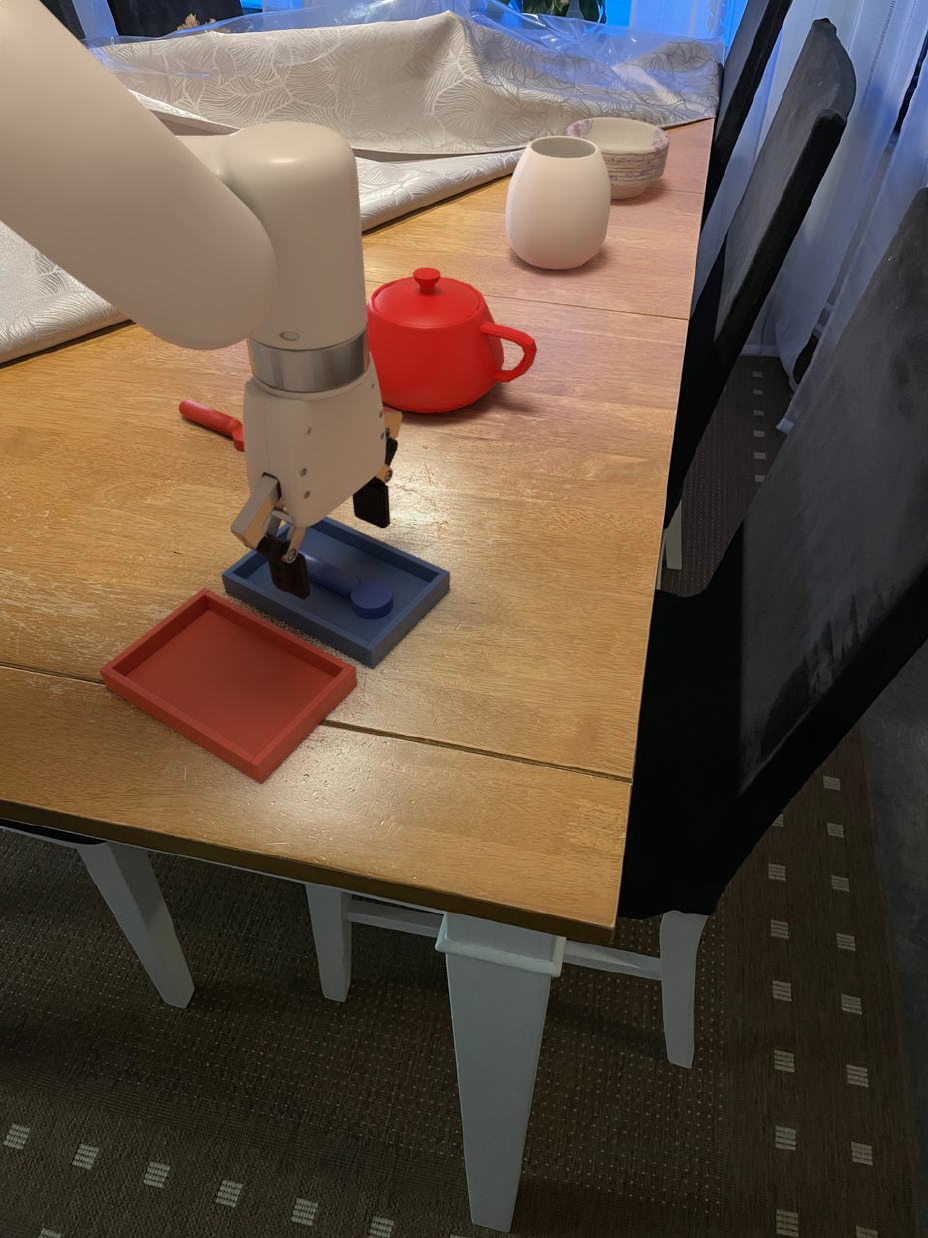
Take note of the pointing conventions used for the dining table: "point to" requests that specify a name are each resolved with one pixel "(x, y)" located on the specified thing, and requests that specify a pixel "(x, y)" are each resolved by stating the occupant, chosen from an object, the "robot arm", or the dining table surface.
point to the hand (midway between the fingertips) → (333, 554)
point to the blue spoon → (352, 588)
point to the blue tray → (332, 611)
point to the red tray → (231, 682)
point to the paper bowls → (626, 151)
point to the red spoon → (214, 421)
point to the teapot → (438, 343)
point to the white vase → (558, 202)
